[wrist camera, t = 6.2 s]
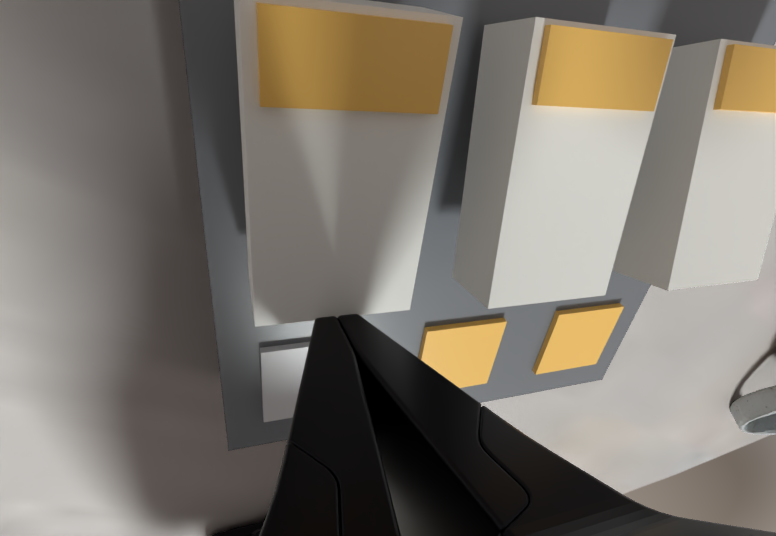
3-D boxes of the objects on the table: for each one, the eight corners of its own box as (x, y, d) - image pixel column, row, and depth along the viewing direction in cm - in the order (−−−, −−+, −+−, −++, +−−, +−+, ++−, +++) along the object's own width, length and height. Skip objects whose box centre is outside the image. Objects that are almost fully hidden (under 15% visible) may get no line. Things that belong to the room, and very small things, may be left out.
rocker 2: (558, 268, 12) (610, 298, 10) (452, 277, 11) (491, 312, 9) (609, 39, 10) (683, 34, 8) (484, 25, 9) (541, 15, 7)
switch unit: (555, 329, 20) (605, 383, 17) (225, 375, 15) (228, 456, 13) (714, -64, 12) (843, -70, 10) (168, -190, 8) (149, -259, 6)
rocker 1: (385, 267, 10) (412, 314, 9) (248, 277, 9) (255, 332, 8) (421, 6, 8) (467, 18, 6) (233, -16, 7) (239, -9, 5)
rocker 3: (696, 263, 13) (763, 281, 11) (613, 270, 12) (673, 292, 10) (742, 61, 11) (827, 50, 10) (650, 51, 10) (728, 37, 9)
